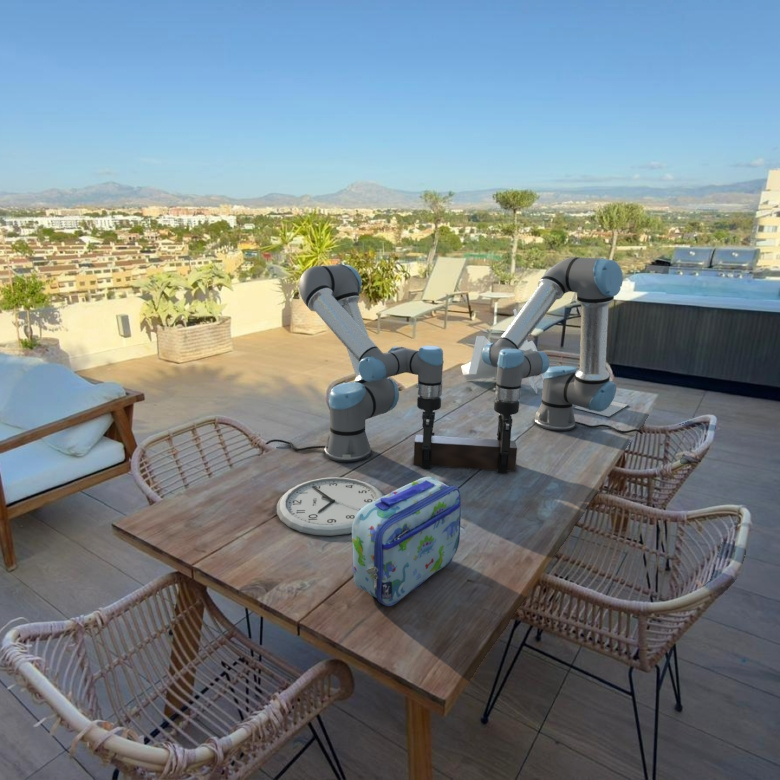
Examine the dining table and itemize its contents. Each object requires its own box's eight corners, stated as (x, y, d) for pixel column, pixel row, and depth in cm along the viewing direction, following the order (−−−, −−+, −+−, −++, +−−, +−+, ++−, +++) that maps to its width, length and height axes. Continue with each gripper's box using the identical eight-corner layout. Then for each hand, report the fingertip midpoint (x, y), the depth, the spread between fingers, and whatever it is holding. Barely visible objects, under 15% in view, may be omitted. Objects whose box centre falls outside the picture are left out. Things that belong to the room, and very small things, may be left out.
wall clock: (392, 527, 129) (268, 531, 127) (391, 533, 130) (269, 537, 127) (383, 473, 158) (282, 475, 155) (383, 478, 158) (282, 480, 156)
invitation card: (608, 416, 214) (573, 407, 224) (608, 416, 214) (573, 408, 224) (628, 404, 229) (594, 396, 238) (628, 405, 229) (594, 397, 238)
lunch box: (381, 619, 101) (382, 525, 95) (345, 592, 109) (344, 503, 102) (464, 563, 119) (469, 480, 113) (428, 543, 126) (432, 464, 120)
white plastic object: (482, 422, 260) (461, 399, 236) (463, 348, 283) (442, 320, 258) (555, 398, 248) (541, 371, 224) (529, 323, 270) (514, 291, 246)
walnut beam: (512, 463, 170) (515, 440, 168) (514, 471, 165) (517, 448, 162) (415, 456, 174) (415, 434, 171) (413, 464, 168) (414, 441, 166)
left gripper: (419, 385, 175) (417, 446, 181) (414, 406, 154) (412, 475, 160) (442, 386, 174) (439, 448, 181) (440, 407, 153) (437, 477, 160)
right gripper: (492, 388, 172) (487, 451, 179) (497, 410, 151) (491, 480, 158) (515, 389, 171) (509, 452, 178) (523, 411, 151) (516, 482, 157)
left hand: (426, 460), depth 170 cm, fingers open, 9 cm apart
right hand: (501, 465), depth 168 cm, fingers open, 9 cm apart
